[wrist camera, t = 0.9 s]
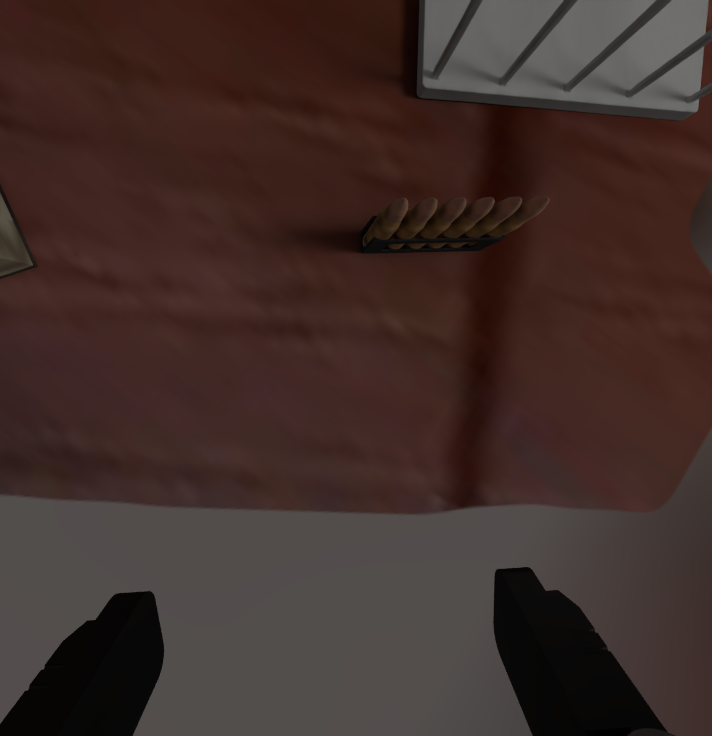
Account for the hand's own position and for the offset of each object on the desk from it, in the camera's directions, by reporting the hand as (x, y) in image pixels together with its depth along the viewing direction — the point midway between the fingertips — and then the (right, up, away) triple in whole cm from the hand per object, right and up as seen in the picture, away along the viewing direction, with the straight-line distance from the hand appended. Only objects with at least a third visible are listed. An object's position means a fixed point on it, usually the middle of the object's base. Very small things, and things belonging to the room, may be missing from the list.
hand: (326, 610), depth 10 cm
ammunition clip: (+6, +17, +27) cm, 32 cm away
